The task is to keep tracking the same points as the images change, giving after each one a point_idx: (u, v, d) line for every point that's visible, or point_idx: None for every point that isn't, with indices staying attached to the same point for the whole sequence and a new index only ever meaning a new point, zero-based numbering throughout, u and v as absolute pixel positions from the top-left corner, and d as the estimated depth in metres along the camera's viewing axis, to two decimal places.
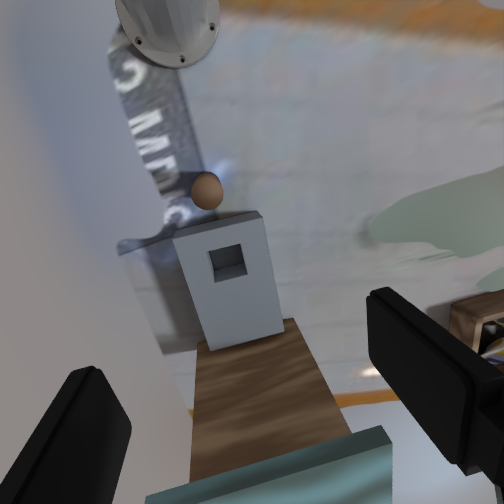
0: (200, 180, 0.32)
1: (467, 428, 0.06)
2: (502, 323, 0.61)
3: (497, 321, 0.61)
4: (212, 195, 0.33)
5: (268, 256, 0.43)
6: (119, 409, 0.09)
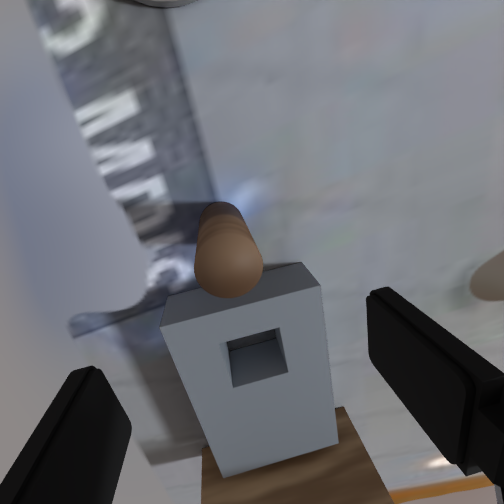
0: (215, 242, 0.15)
1: (467, 428, 0.06)
2: None
3: None
4: (240, 270, 0.15)
5: (324, 344, 0.25)
6: (119, 409, 0.09)
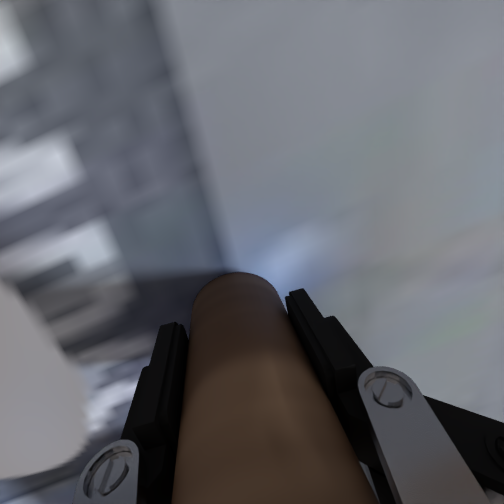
0: None
1: (335, 411, 0.07)
2: None
3: None
4: None
5: None
6: None
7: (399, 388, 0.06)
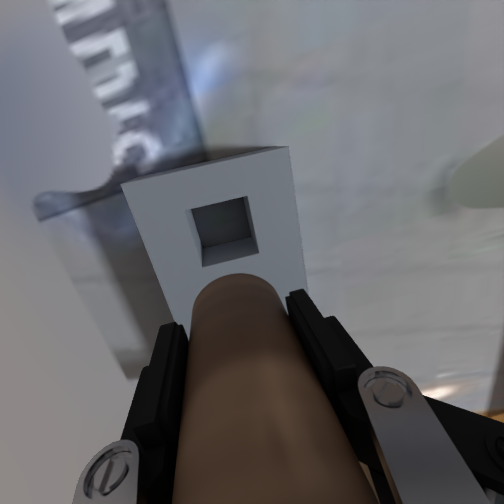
0: None
1: (335, 411, 0.07)
2: None
3: None
4: None
5: (295, 221, 0.25)
6: None
7: (399, 388, 0.06)
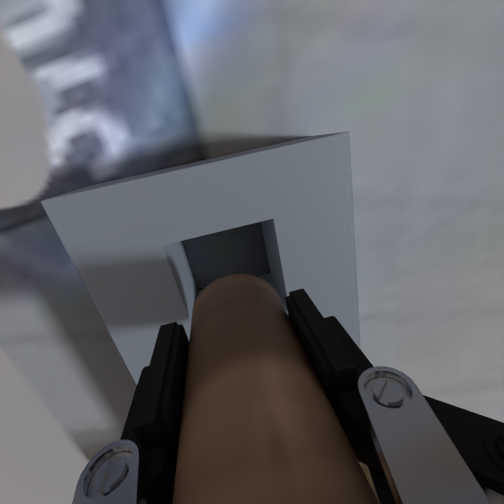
0: None
1: (335, 411, 0.07)
2: None
3: None
4: None
5: (350, 259, 0.15)
6: None
7: (399, 388, 0.06)
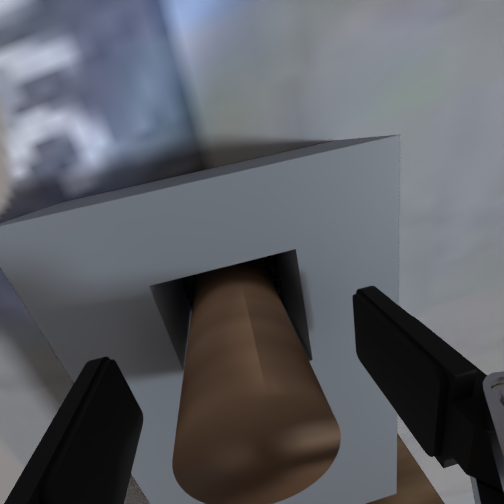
0: (226, 409, 0.06)
1: (442, 421, 0.06)
2: None
3: None
4: (287, 456, 0.06)
5: (392, 297, 0.12)
6: (132, 399, 0.09)
7: None
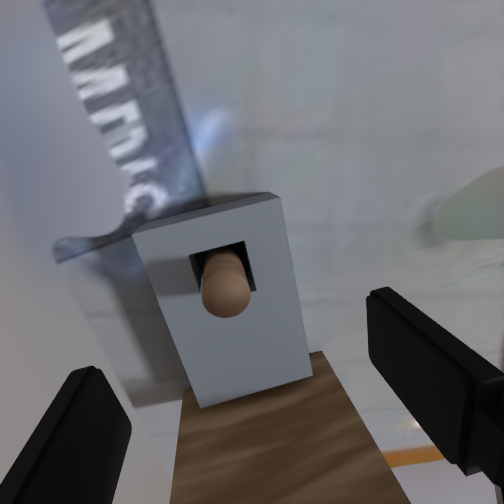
0: (216, 278, 0.21)
1: (467, 428, 0.06)
2: None
3: None
4: (234, 297, 0.22)
5: (289, 261, 0.27)
6: (119, 409, 0.09)
7: None
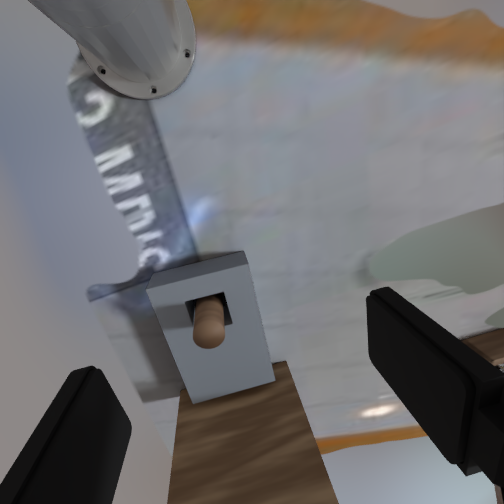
0: (202, 325, 0.32)
1: (467, 428, 0.06)
2: None
3: (503, 367, 0.57)
4: (214, 336, 0.33)
5: (255, 304, 0.38)
6: (120, 409, 0.09)
7: None
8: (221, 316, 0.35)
